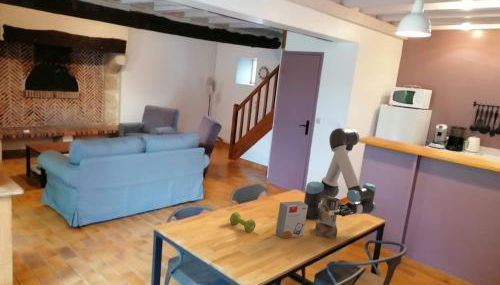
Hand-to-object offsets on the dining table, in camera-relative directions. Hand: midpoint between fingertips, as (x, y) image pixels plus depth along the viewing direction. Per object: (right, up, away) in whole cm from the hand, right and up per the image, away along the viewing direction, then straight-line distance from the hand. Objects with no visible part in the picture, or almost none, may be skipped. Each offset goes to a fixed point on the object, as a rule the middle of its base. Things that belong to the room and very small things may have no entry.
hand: (323, 209), depth 216 cm
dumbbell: (-50, -11, 0) cm, 51 cm away
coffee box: (+3, -9, +3) cm, 10 cm away
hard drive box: (-21, -15, -3) cm, 26 cm away
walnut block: (+2, -16, +5) cm, 17 cm away
